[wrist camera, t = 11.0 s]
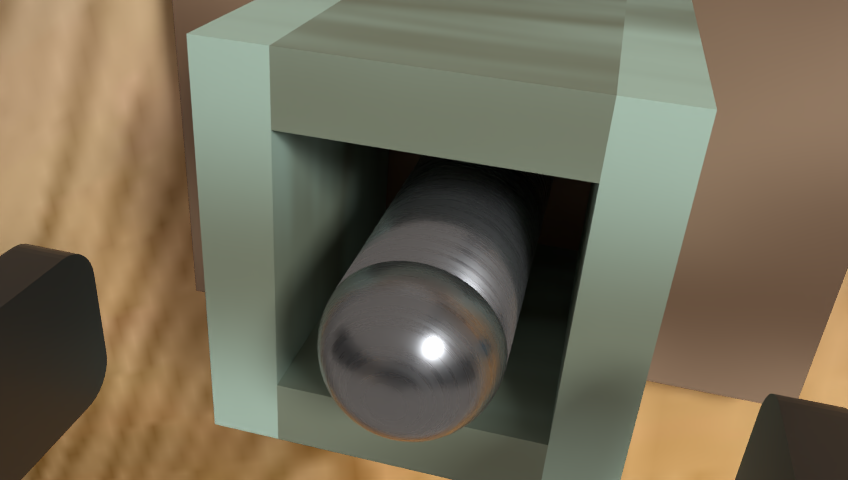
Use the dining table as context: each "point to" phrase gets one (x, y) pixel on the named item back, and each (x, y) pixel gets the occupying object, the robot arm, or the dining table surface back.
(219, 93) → the pale green open box
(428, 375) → the metal post
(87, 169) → the dining table surface
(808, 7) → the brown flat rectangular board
